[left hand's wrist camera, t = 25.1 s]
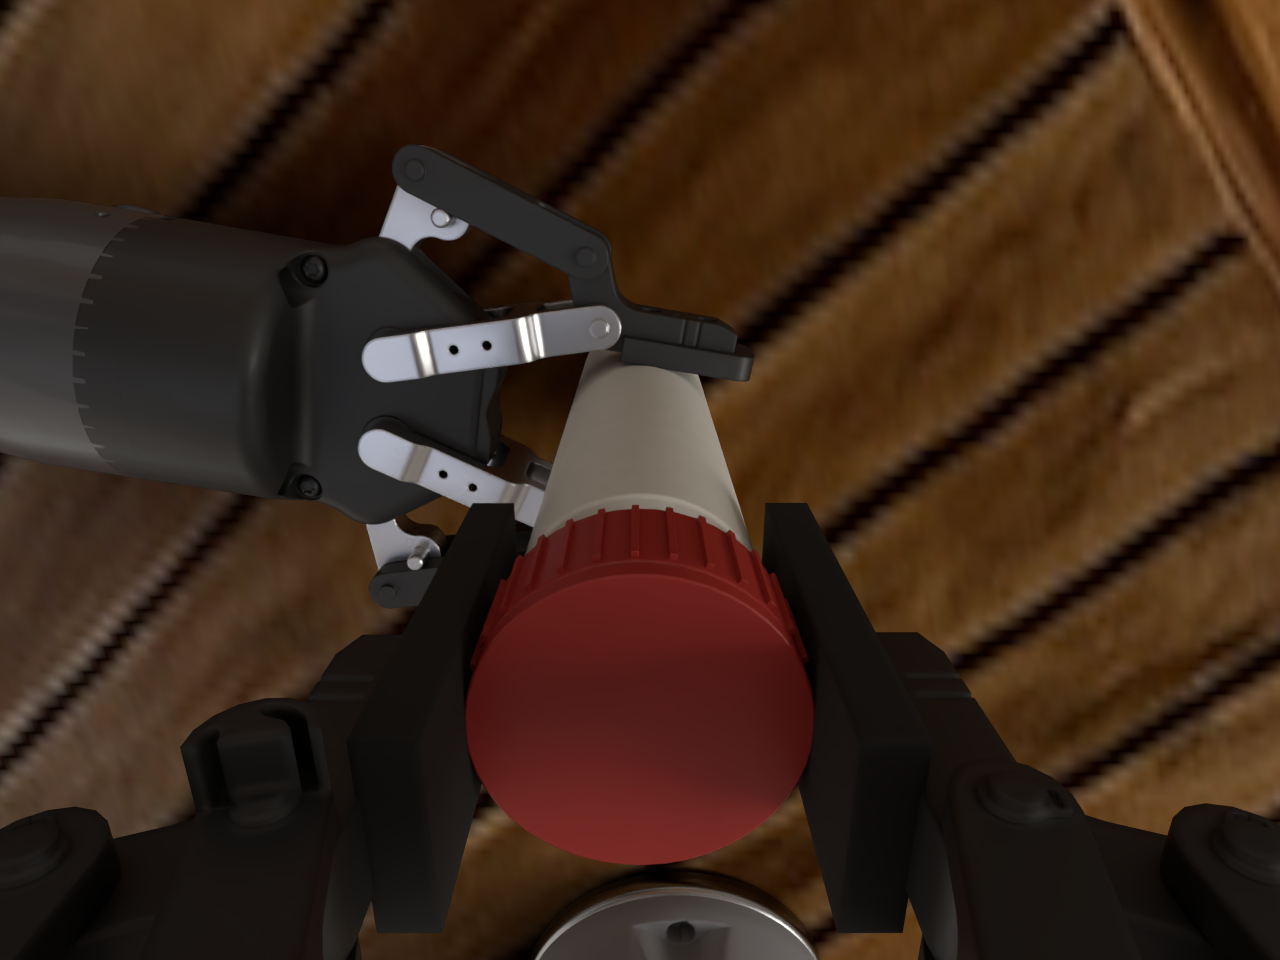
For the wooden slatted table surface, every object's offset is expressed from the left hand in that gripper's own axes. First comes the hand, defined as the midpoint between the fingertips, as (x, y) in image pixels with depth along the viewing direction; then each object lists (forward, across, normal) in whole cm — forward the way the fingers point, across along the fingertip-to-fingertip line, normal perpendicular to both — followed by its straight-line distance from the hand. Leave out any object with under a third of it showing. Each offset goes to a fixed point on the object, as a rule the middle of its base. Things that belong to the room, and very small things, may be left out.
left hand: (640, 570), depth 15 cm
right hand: (+9, -3, 0) cm, 10 cm away
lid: (-4, 0, 0) cm, 4 cm away
